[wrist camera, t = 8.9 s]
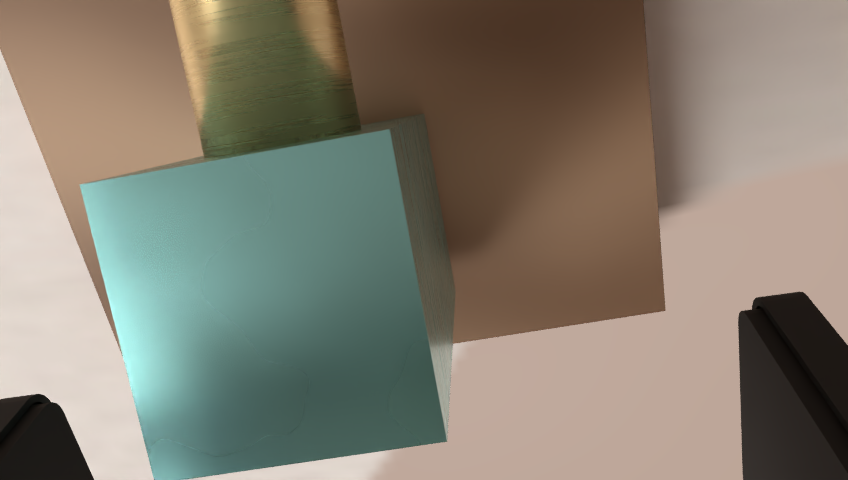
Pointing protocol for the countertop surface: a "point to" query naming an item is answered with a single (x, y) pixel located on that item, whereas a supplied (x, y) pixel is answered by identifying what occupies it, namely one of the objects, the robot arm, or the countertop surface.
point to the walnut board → (395, 98)
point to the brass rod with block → (278, 258)
